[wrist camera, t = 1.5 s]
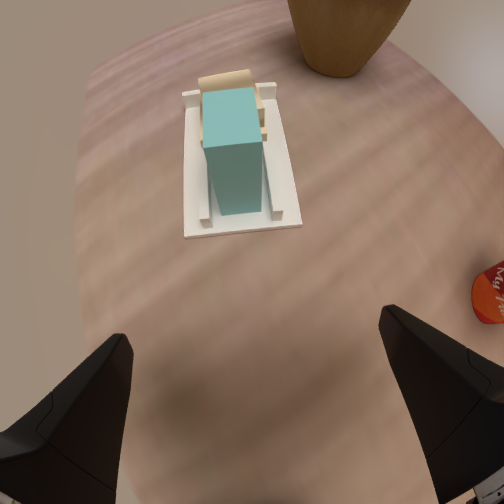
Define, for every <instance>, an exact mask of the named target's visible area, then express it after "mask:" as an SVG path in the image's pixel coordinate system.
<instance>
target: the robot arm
mask: <svg viewBox="0 0 504 504" xmlns="http://www.w3.org/2000/svg"><path fill="white" fill-rule="evenodd" d="M379 331H380V334H381V337H382V340H383V344H384V347H385V350H386V353H387V357H388V360H389V363H390V366H391V368H392V371H393V373H394V375H395V378H396V380H397V383H398V385H399V388H400V390H401V393H402V395H403V398H404V400H405V403H406V405H407V408H408V410H409V413H410V416H411V418H412V421H413V424H414V426H415V429H416V432H417V435H418V438H419V440H420V443H421V446H422V449H423V452H424V455H425V458H426V459H427V460H426V462H427V465H428V468H429V471H430V474H431V477H432V481H433V484H434V488H435V491H436V495H437V498H438V502H439V504H446V503H448V502H450V501H451V500H453V499H455V498H457V497H459V496H460V495H462V494H464V493H465V492H467V491H469V490H470V489H472V488H473V490H474V492H475V495H476V496H475V497H474V498H472V499H470V500H469V501H467V502H466V504H504V367H502V366H500V365H498V364H496V363H494V362H492V361H490V360H488V359H486V358H484V357H482V356H481V355H479V354H477V353H476V352H474V351H472V350H471V349H469V348H466V346H464V345H462V344H461V343H459V342H457V341H456V340H454V339H452V338H451V337H449V336H447V335H446V334H444V333H442V332H441V331H439V330H437V329H436V328H434V327H432V326H430V325H429V324H427V323H425V322H424V321H422V320H420V319H419V318H417V317H415V316H413V315H412V314H410V313H408V312H407V311H405V310H403V309H401V308H400V307H398V306H396V305H394V304H391V305H386V306H384V307H383V308H382V311H381V316H380V320H379ZM133 357H134V353H133V349H132V347H131V345H130V343H129V341H128V339H127V336H126V335H125V334H123V333H115V334H113V335H112V336H111V337H109V338H108V339H107V340H106V341H105V342H104V343H103V344H102V345H101V346H99V347H98V348H97V349H96V350H95V351H94V352H93V353H92V354H91V355H90V356H89V357H87V358H86V359H85V360H84V361H83V362H82V363H81V364H80V365H79V366H78V367H77V368H76V369H74V370H73V371H72V372H71V373H70V374H69V375H68V376H67V377H66V378H65V379H64V380H63V381H62V382H61V383H59V384H58V385H57V386H56V387H55V388H54V389H53V391H52V392H50V393H49V394H48V395H47V396H46V397H45V398H44V399H42V400H41V401H40V402H39V403H38V404H37V405H36V406H35V407H34V408H32V409H31V410H30V411H29V412H28V413H26V414H25V415H24V416H23V417H21V418H20V419H19V420H18V421H16V422H15V423H14V424H13V425H11V426H10V427H9V428H8V429H6V430H5V431H3V432H0V504H115V502H116V488H117V478H118V468H119V461H120V453H121V445H122V439H123V432H124V426H125V419H126V414H127V408H128V402H129V397H130V390H131V378H132V367H133Z"/></svg>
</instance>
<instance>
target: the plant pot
mask: <svg viewBox="0 0 504 504" xmlns="http://www.w3.org/2000/svg"><path fill="white" fill-rule="evenodd" d="M410 2H411V0H288V5H289V9H290V13H291V17H292V21H293V25H294V28H295V32H296V35H297V38H298V41H299V44H300V47H301V50H302V53H303V56H304V58H305V61H306V63H307V64H308V65H309V66H310V67H311V68H312V69H314V70H315V71H317V72H319V73H322V74H324V75H328V76H332V77H349V76H352V75H354V74H355V73H356V72H357V71H358V70H359V69H360V68H361V67H362V66H363V65H364V64H365V63H366V62H367V61H368V60H369V59H370V58H371V57H372V56H373V54H374V53H375V52H376V51H377V50H378V49H379V47H380V46H381V45H382V44H383V42H384V41H385V40H386V39H387V37H388V36H389V35H390V33H391V31H392V30H393V29H394V27H395V26H396V25H397V23H398V21H399V20H400V18H401V16H402V15H403V13H404V12H405V10H406V8H407V7H408V5H409V3H410Z"/></svg>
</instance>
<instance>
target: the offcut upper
mask: <svg viewBox="0 0 504 504" xmlns="http://www.w3.org/2000/svg"><path fill="white" fill-rule="evenodd" d="M198 83H199V88H200V93H201V99H202V104H203V93H204V92H212V91H219V90H228V89H238V88H249V87H253V89H254V94H255V100H256V106H257V111H258V117H259V123H260V128H261V127H264V119H265V107H264V105H263V102H262V100H261V97H260V95H259V92H258V90H257V87H256V85H255V82H254V80H253V78H252V75H251V73H250V70H249V69H247V70H240V71H234V72H228V73H223V74H217V75H212V76H207V77H202V78H198Z"/></svg>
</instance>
